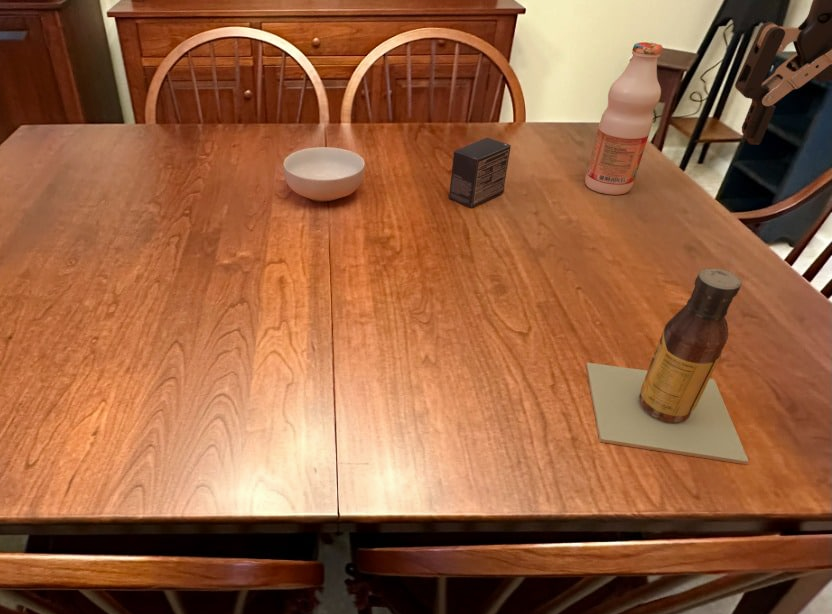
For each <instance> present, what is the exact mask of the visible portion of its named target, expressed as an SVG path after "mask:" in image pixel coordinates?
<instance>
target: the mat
mask: <svg viewBox="0 0 832 614" xmlns="http://www.w3.org/2000/svg"><path fill="white" fill-rule="evenodd" d="M585 368H586V374H587V379H588V385H589V390H590V396H591V402H592V405H593V406H592V407H593V414H594V419H595V423H596V429H597V435H598V441H599V443H603V444H611V445H617V446H621V447H622V446H623V447H629V448H636V449H642V450H649V451H655V452H662V453H668V454H674V455H682V456H688V457H695V458H700V459H707V460H708V459H709V460H712V461H713V460H714V461H720V462H728V463H734V464H740V465H749V462H750V460H749V458H748V455H747V453H746V451H745V449H744V446H743V444H742V441H741V439H740V436H739V434H738V432H737V430H736V427H735V425H734V422H733V420H732V418H731V415H730V412H729V411H728V408H727V406H726V403H725V401H724V399H723V396H722V394H721V391H720V388H719V387H718V383H717V382H716V379H715V378H710V379H709V381H708V383H707V385H706V387H705V390H704V392H703V394H702V396H701V398H700V400H699V402H698V404H697V406H696V408H695V409H694V410H693V411H692V412H691V414H690V416H689V418H687V419H686V420H685V421H680V422H665V421H662V420H659V419H658V418H655V417H653V416H652V415H650V414H649V413H648V412H647V411H645V410H644V408H643V407H642V405H641V403H640V399H639V395H640V392H641V386H642V384H643V381H644V379H645V376H646V374H647V371H648V369H642V368H641V369H640V368H632V367H624V366H617V365H609V364H602V363H595V362H594V363H593V362H586V364H585Z"/></svg>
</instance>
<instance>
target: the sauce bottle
mask: <svg viewBox="0 0 832 614" xmlns="http://www.w3.org/2000/svg"><path fill="white" fill-rule="evenodd" d="M741 288H742V281H741V279H740V277H739V276H737V274H734V273H733V272H731V271H729V270H726V269H721V268H711V267H710V268H704V269H702V270H700V271H699V272H698V274H697V277H695V280H694V288H693V290H692V293H691V295H690V298H689V299H688V300H687V302H686V304H685V305H684V306H683V307H682V308H681V309H680V310H679V311H678V312H677V313H675V314H674V316H673V317H672V318H670V320H668V321H667V322H666V324H665V326H664V328H663V331H662V332H661V336H660V339H659V341H658V344H657V346H656V348H655V351H654V354H653V355H652V358H651V361H650V364H649V366H648V369H647V370H648V371H647V374H646V376H645V379H644V381H643V384H642V386H641V392H640V395H639V399H640V403H641V405H642V407H643V408H644V410H645V411H647V412H648V413H649V414H650V415H652V416H653V417H655V418H658V419H659V420H662V421H665V422H680V421H685V420H686V419H687V418H689V416H690V414H691V412H692V411H693V410H694V409H695V408H696V406H697V404H698V402H699V400H700V398H701V396H702V394H703V392H704V390H705V387H706V385H707V383H708V381H709V379H711V377H712V375H713V373H714V370H715V369H716V366H717V364H718V362H719V361H720V359H721V357H722V354H723V349H724V347H725V345H726V344H727V341H728V339H729V326H728V325H729V323H728V321H727V320H726V316H727V315H728V310H729V308H730V307H731V304H732V302H733V299H734V298H735V297H736V296H737V295H738V293H739V291H740V289H741Z"/></svg>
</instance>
